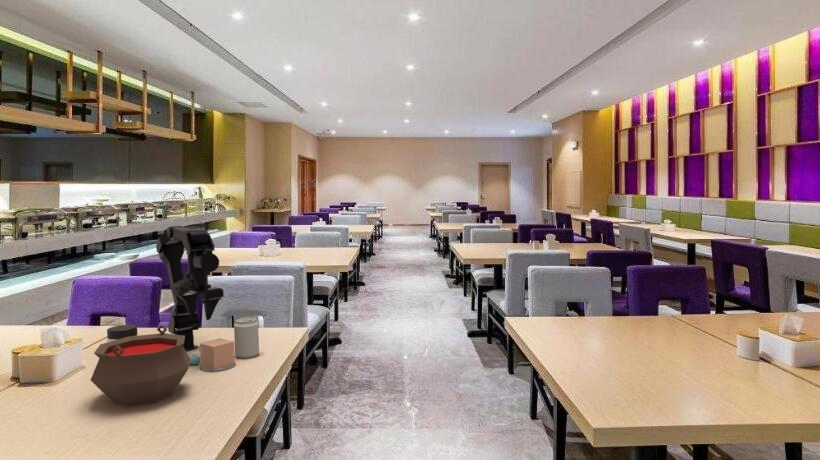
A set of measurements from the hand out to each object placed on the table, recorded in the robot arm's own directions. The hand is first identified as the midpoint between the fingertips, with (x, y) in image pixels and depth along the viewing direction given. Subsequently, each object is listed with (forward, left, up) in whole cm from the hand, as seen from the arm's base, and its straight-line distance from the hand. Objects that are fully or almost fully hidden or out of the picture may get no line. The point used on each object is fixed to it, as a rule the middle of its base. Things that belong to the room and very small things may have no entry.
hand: (199, 318), depth 169 cm
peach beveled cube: (+12, -2, -13) cm, 17 cm away
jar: (-13, -18, -13) cm, 26 cm away
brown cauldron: (+17, -27, -13) cm, 35 cm away
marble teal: (+4, -5, -13) cm, 14 cm away
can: (+10, +10, -13) cm, 19 cm away
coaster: (+12, -2, -13) cm, 18 cm away
